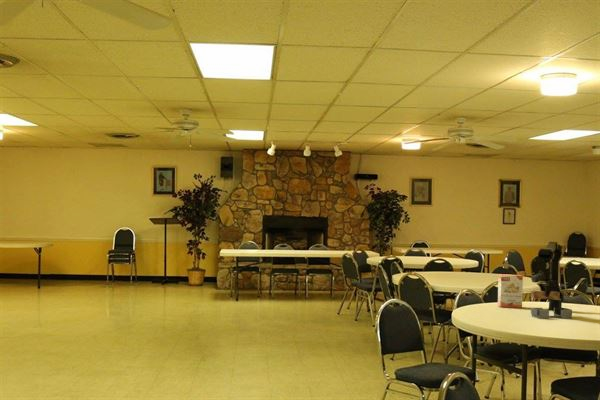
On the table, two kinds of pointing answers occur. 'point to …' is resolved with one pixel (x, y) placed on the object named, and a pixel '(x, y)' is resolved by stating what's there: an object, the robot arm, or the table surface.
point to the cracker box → (510, 290)
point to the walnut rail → (543, 295)
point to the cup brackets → (558, 313)
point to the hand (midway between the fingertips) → (545, 296)
